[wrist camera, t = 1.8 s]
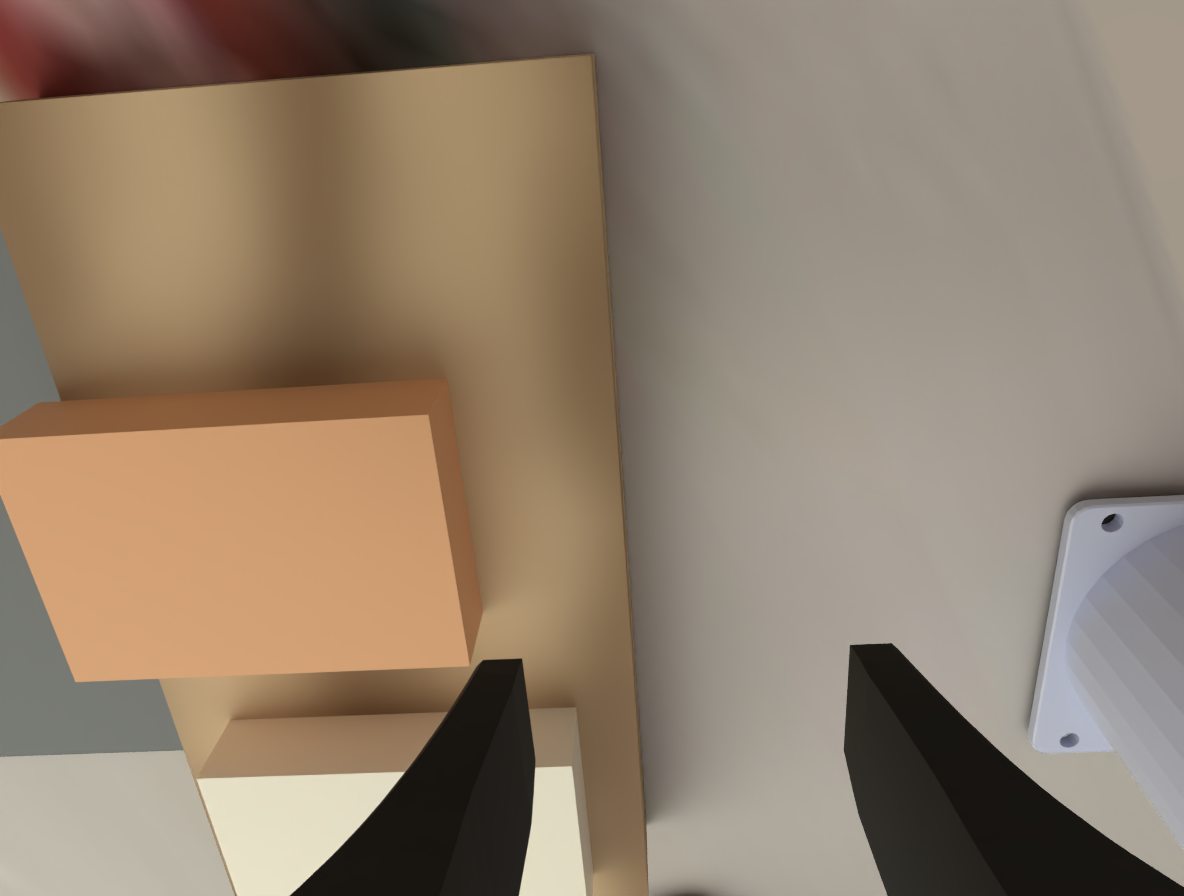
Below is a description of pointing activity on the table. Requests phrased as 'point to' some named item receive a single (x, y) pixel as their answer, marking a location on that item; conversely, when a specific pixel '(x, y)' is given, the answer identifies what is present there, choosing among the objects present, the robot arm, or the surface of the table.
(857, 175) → the table surface
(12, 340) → the mat
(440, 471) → the orange rectangular block
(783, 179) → the table surface
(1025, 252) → the table surface
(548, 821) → the cream rectangular block
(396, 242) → the deck
